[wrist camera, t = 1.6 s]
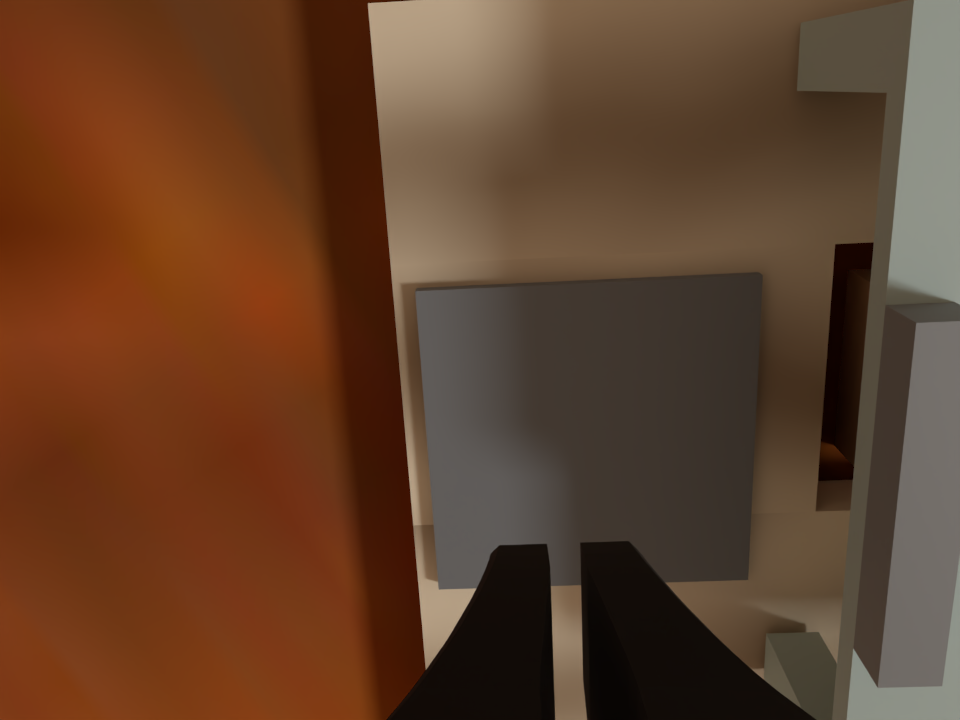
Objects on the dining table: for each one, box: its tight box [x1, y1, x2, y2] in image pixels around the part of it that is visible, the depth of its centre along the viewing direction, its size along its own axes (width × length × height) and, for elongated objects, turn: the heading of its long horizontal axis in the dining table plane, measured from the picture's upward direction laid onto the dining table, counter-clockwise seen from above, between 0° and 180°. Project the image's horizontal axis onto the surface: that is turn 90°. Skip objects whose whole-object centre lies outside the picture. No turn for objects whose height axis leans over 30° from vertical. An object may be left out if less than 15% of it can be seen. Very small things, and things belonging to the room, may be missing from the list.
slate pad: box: [415, 272, 763, 590], centre depth 18 cm, size 7×7×1 cm
